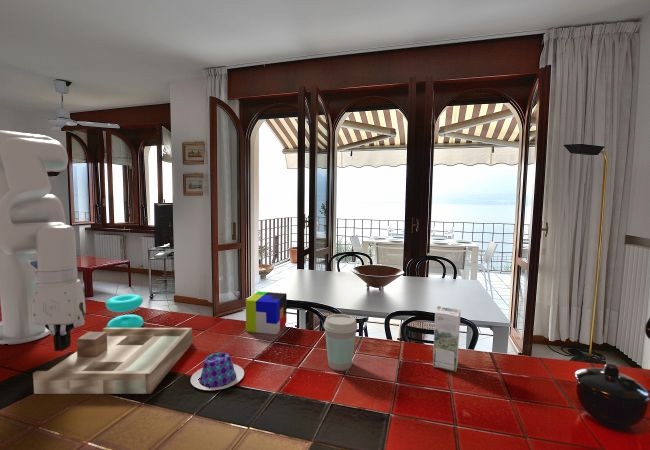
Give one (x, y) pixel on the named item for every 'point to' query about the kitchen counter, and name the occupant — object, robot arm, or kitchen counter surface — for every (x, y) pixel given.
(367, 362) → the kitchen counter surface
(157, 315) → the kitchen counter surface
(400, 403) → the kitchen counter surface
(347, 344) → the coffee cup
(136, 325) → the donuts
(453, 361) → the syrup box
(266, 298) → the puzzle toy
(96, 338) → the walnut block
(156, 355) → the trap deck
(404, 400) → the kitchen counter surface
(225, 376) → the pudding
